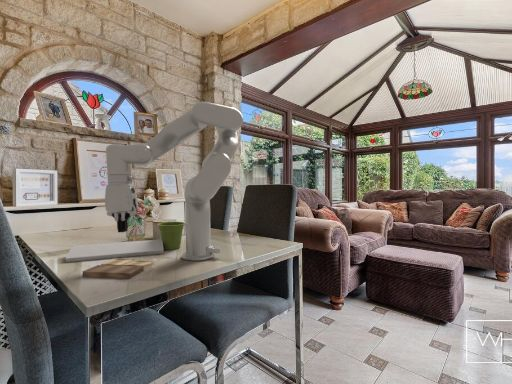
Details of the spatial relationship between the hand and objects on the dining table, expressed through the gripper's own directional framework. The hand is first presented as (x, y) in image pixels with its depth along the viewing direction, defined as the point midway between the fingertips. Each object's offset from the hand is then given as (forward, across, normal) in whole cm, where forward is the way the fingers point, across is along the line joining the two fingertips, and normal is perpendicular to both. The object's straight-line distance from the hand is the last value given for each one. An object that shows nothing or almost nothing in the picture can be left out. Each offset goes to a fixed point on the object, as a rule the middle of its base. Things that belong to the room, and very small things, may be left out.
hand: (122, 231), depth 97 cm
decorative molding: (+13, +11, -12) cm, 21 cm away
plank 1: (+12, +1, +2) cm, 12 cm away
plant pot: (+13, -6, -26) cm, 30 cm away
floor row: (+12, -3, +10) cm, 16 cm away
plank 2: (+12, -7, +2) cm, 14 cm away
